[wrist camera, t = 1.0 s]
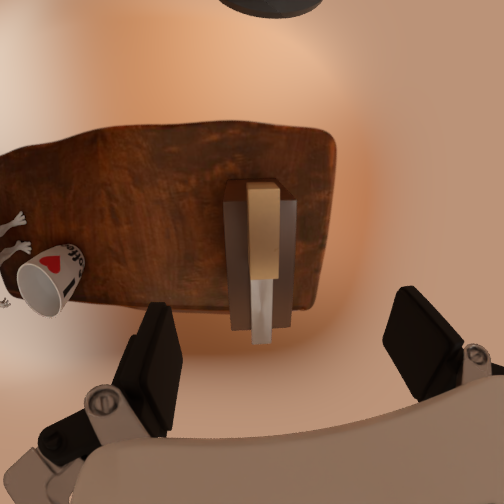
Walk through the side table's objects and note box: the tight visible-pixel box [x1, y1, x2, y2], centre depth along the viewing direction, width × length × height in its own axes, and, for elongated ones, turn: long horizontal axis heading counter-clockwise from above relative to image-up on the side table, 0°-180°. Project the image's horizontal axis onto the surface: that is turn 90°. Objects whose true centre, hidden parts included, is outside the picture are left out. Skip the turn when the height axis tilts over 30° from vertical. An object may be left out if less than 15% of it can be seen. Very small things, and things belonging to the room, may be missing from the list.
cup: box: [17, 244, 85, 318], centre depth 30 cm, size 8×8×10 cm
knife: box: [246, 182, 280, 344], centre depth 23 cm, size 16×2×3 cm, turn 1°
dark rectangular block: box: [223, 178, 297, 331], centre depth 29 cm, size 13×6×12 cm, turn 1°
